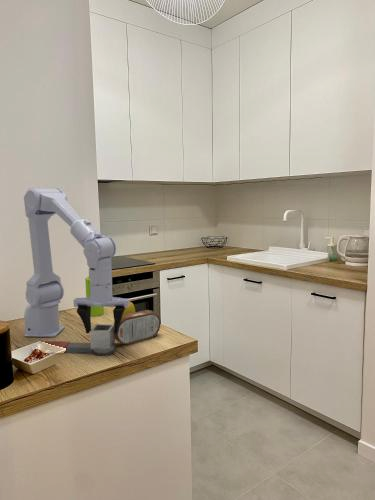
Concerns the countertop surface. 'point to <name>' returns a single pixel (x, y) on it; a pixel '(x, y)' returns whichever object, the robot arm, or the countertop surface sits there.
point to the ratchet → (81, 348)
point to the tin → (138, 327)
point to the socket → (102, 336)
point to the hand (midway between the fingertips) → (102, 332)
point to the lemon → (129, 309)
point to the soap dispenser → (94, 309)
